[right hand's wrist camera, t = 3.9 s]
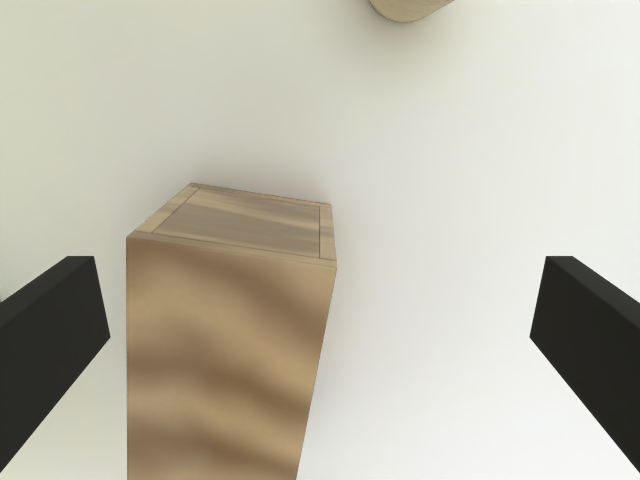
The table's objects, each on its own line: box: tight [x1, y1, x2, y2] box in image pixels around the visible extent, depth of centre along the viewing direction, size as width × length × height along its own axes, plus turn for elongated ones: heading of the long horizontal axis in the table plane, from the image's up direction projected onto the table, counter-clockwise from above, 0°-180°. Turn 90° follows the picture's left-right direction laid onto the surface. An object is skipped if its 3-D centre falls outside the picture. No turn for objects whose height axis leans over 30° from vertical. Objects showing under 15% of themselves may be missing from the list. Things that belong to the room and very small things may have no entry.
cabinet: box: [126, 183, 337, 480], centre depth 30 cm, size 17×11×11 cm, turn 171°
